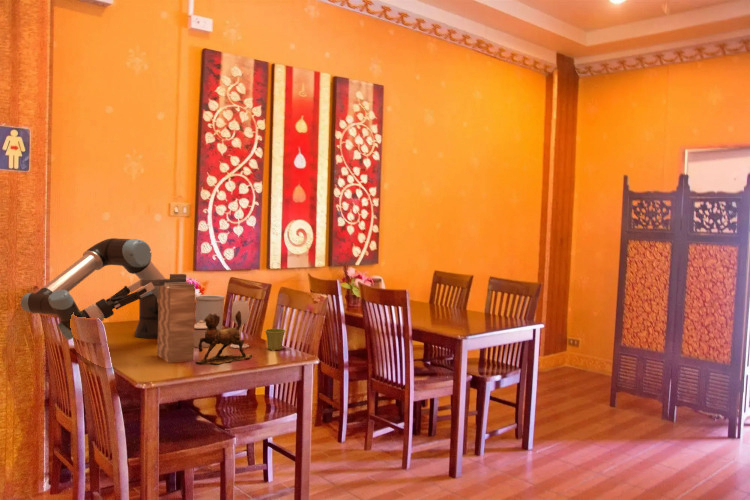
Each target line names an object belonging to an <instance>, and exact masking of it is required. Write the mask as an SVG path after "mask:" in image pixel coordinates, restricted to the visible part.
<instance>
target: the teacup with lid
mask: <svg viewBox="0 0 750 500" xmlns="http://www.w3.org/2000/svg"><path fill="white" fill-rule="evenodd" d="M206 330H207V326H206V323H203V321H199V323H197V324H196V323H194V348H196V349H197V348H198V349H199V343H200V338H202V337H203V338H205V332H206ZM209 347H210V344H207V343H205V342H202V347H201V348H202V349H203V348H209Z"/></svg>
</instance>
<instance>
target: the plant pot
mask: <svg viewBox="0 0 750 500" xmlns="http://www.w3.org/2000/svg"><path fill="white" fill-rule="evenodd" d="M264 332H265V334H266V341H267V349H268V350H271V351H276V350H277V351H279V350H282V347H283V343H284V336H285V332H286V329H284V328H267V329H265V330H264Z"/></svg>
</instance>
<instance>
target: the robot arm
mask: <svg viewBox="0 0 750 500" xmlns="http://www.w3.org/2000/svg"><path fill="white" fill-rule="evenodd" d="M106 266H120V267H123V268H124V269H125V270H126V271H127V272H128V273H129V274H132V275H136V277H137V278H138V279H139V280H137V281H136V282H134V283H132V284H131V285H129V286H127V285H125V286H123V287H122V288H121V289H120V290H119V291H117V292H115V294H113V295H112V296H110V297H109V298H107V299H105V298H102V299H100V300H98V301H97V302H95V304H94V303H93V304H91V305H89V306H87V307H86V308H84V309H82V310H80V309H79V307H78V305H77V303H76V302H75V300H74V298H73V296H72V295H71V294H70V291H72V290H73V289H74V288H75V287H77V286H78V285H79V284H80V283H81V282H83V281H84V280H85V279H86V278H88V277H89V276H90V275H92V274H93V272H95V271H100V270H102V268H104V267H106ZM140 279H167V278H166V277H165V276H164V275H163V274H162V272H160V270H159V269H158V268H157V266H155V264H154V263H153V262H152V252H151V247H150V245H149V244H148V243H147V242H146V241H144V240H141V239H137V238H117V237H116V238H114V237H111V238H107V239H104V240H102V241H100V242H97V243H95V244H93V246H91V247H90V248H88V249H86V251H84V252H83V254H82V257H80V258H79V259H77V261H75V262H74V263H73V264H72V265H70V266H69V267H67V268H66V269H65V270H63V271H62V272H61V273H60V274H58V275H57V276H56V277H55V278H53V279H52V280H50V281H49V282H48V283H47V284H45V285H44V286H43V287H42V288H40V289H39V290H37V291H36V292H29V293H25V294H24V295H23V296H22V297H21V300H20V306H21V309H22V310H23V311H25V312H26V313H32V314H41V315H48V316H49V315H50V316H51V315H52V316H57V317H58V319H59V321H60V322H59V323H58V324H57V328H58V330H59V332H60V333H61V335H62V336H63V337H64V338H65V340H68V341H70V340H71V339H74V338H73V335H72V332H71V328H70V319H71V315H72V314H73V312H74V315H75V316H77V317H86V318H99V319H100V320H101V322H103V321H104V319H108V318H110V317H112V316H113V315H114V314H115V312H114V311H113V309H115V310H120V309H121V308H123V307H124V306H126V305H129V304H131V303H133V302H135V301H139V305H138V306H139V309H138V310H139V311H138V313H139V314H138V315H139V317H138V323H137V325H136V329H135V330H134V336H135V338H143V339H158V303H159V286H153V284H152V282H150V283H149V284H147V285H145V286H140Z"/></svg>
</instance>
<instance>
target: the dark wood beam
mask: <svg viewBox="0 0 750 500" xmlns="http://www.w3.org/2000/svg"><path fill="white" fill-rule="evenodd" d="M139 280H140V286H142V287H144V286H145V285H147V284H149V283H150V282H152V284H153V286H164V283H173V282H187V274H186V273H173V274H172V273H170V274H169V278H166V279H139Z"/></svg>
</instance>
